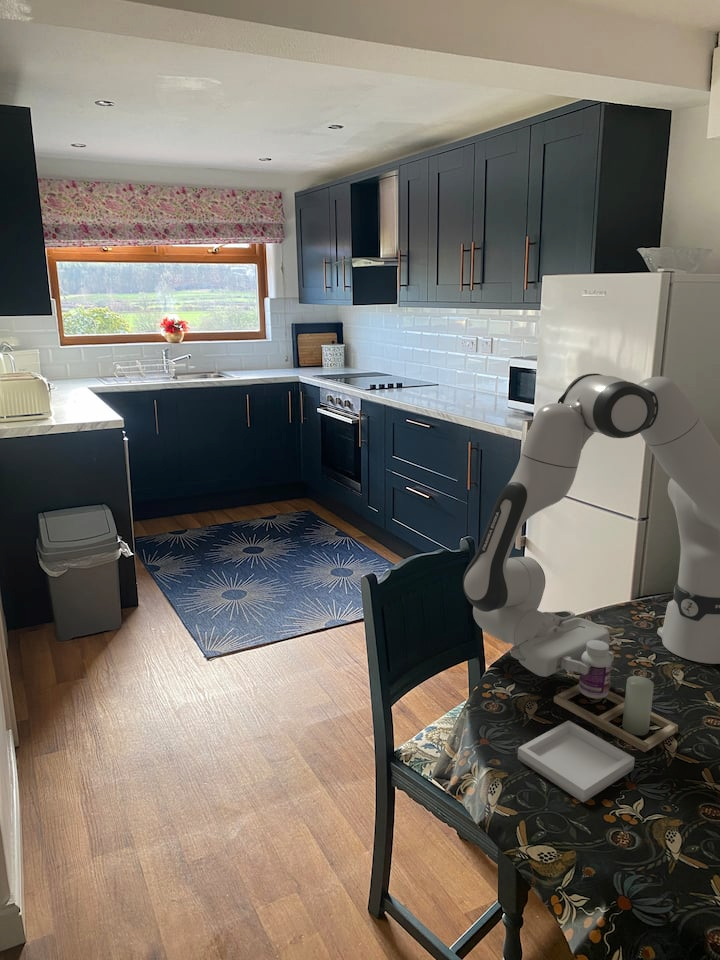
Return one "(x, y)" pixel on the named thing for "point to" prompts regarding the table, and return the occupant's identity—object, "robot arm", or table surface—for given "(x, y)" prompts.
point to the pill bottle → (596, 670)
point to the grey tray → (576, 760)
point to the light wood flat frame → (604, 719)
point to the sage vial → (638, 705)
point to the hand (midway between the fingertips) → (600, 664)
